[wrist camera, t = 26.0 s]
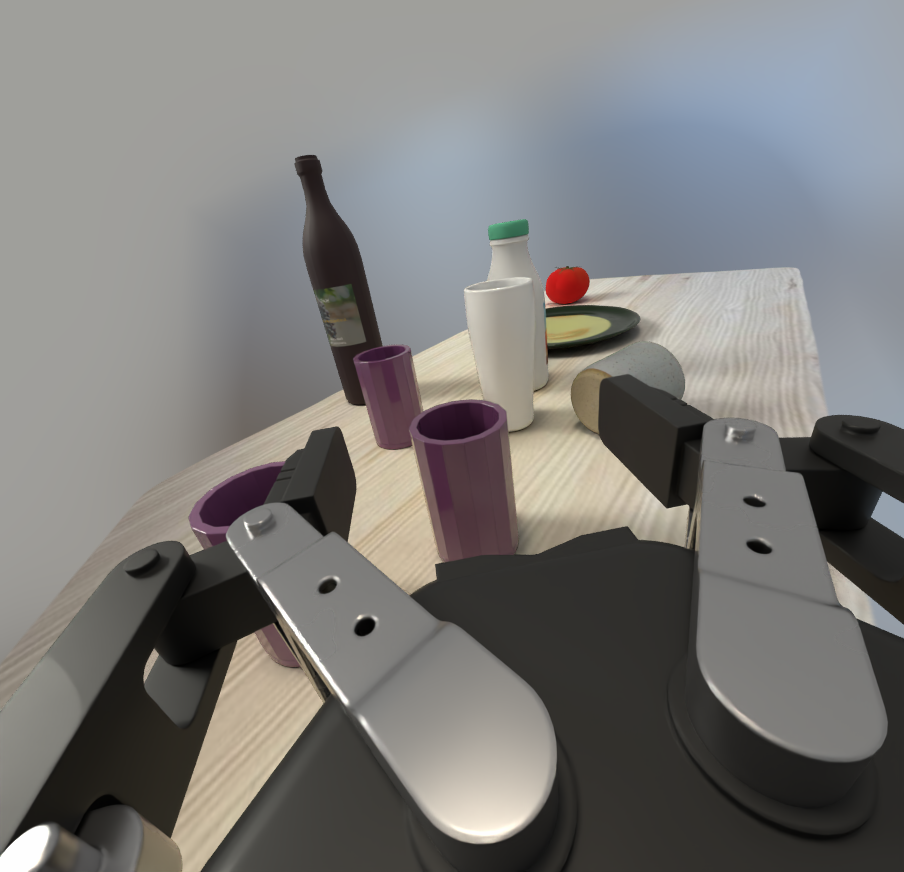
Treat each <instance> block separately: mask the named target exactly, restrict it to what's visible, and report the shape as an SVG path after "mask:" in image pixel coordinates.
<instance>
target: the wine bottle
mask: <svg viewBox="0 0 904 872" xmlns="http://www.w3.org/2000/svg"><path fill="white" fill-rule="evenodd" d="M295 161H296V163H295V168H296V171H297V174H298V175H299V177H300V179H301V182H302V186H303V189H304V193H305V200H306V205H307V208H306V219H305V225H304V231H303V253H304V259H305V263H306V267H307V271H308V274H309V277H310V281H311V284H312V287H313V290H314V294H315V297H316V300H317V303H318V307H319V310H320V313H321V317H322V320H323V323H324V327H325V330H326V333H327V337H328V340H329V343H330V346H331V350H332V353H333V356H334V360H335V363H336V366H337V369H338V373H339V376H340V379H341V383H342V386H343V389H344V393H345V396H346V399H347V400H348V402H349V403H351V404H357V405H363V404H366V403H365V400H364V396H363V392H362V389H361V385H360V382H359V378H358V374H357V371H356V367H355V364H354V360H353V358H354V357H355V356H356V355H358V354H360V353H362V352H364V351H367V350H370V349H373V348H377V347H381V346H382V341H381V337H380V333H379V329H378V325H377V321H376V317H375V312H374V308H373V304H372V300H371V296H370V291H369V287H368V284H367V279H366V275H365V271H364V267H363V262H362V258H361V255H360V252H359V248H358V245H357V243H356V241H355V239H354V236H353V234H352V233H351V231H350V230H349V228H348V227H347V225H346V224H345V222H344V221H343V220H342V219H341V217H340V216H339V215H338V213H337V212H336V210H335V209H334V207H333V206H332V204H331V203H330V201H329V198H328V195H327V193H326V190H325V186H324V183H323V179H322V175H321V174H322V168H321V164H320V161H319V160H318V159H317V157H316V156H315V155H305V156H300V157H297V158H295Z"/></svg>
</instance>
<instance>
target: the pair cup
mask: <svg viewBox="0 0 904 872" xmlns="http://www.w3.org/2000/svg"><path fill="white" fill-rule="evenodd" d="M284 463H285V461H282V462H273V463H268V464H265V465H261V466H257V467H253V468H250V469H248V470H246V471H243V472H241V473H239V474H236V475H234V476H232V477H230V478H228V479H226V480H225V481H223V482H222V483H220V484H218V485H217V486H215V487H213V488H212V489H211V490H209V491H208V492H207V493H206V494H205V495H204V496H203V497H202V498H201V499H200V500H198V501H197V502H196V504H195V505H194V507H193V509H192V511H191V513H190V515H189V518H188V519H189V522H190V525H191V529H192V530H193V532H194V534H195V535H196V537H197V538H198V540H199V542H200V543H201V545H202V547H203V548H204V550H205V549H207V548H210V547H212V546H215V545H217V544H220V543H222V542H225V541H227V539H226V533H227V530H228V529H229V527H230V526H231V524H232V523H233V522H234V521H235V520H236V519H238V518H239V517H240V516H242V515H243V514H244V513H246V512H248V511H250V510H252V509H254V508H256V507H259V506H262V505H263V504H264V502H265V500H266V498H267V496H268V495H269V493H270V491H271V489H272V487H273V485H274V483H275V482H276V479H277V477H278V475H279V473H281V469H282V467H283V465H284ZM254 633H255V634H256V636H257V638H258V639H259V641H260V643H261V644H262V646H263V648H264V649H265V651H266V652H267V653H268V654H269V656H270V657H271V658H272V659H273V660H274V661H275V662H276V663H278V664H281V665H283V666H287V667H301V666H300V665H299V663H298V662H297V660H296V659H295V657H294V655H293V654H292V652H291V651H290V649H289V648H288V646H287V645H286V643H285V642H284V640H283V639H282V637H281V635H280V634H279V632H278V631H277V629H276V628H275V626H274V624H271V625H269V626H267V627H264V628H262V629H260V630H258V631H256V632H254Z"/></svg>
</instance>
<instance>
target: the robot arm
mask: <svg viewBox="0 0 904 872" xmlns="http://www.w3.org/2000/svg"><path fill="white" fill-rule="evenodd" d="M598 430H599V435H600V438H601V440H602V442H603V444H604V445H605V446H606V447H607V448H608V449H609V450H610V451H611V452H612V453H613V454H614V455H615V456H616V457H617V458H618V459H619V460H620V461H621V462H622V463H623V464H624V465H625V466H626V467H627V468H628V469H629V470H630V471H631V472H632V473H633V474H634V476H635V477H636V478H637V479H638V480H639V481H640V482H641V483H642V484H643V485H644V486H645V487H646V488H647V489H648V490H649V491H650V492H651V493H652V494H653V495H654V496H655V497H656V498H657V499H658V500H659V501H660V502H661V503H662V504H663V505H664V506H665V507H666V508H671V507H676V506H681V505H686V504H688V505H689V511H688V517H687V526H686V536H685V546H684V547H681V546H677V545H673V544H669V543H664V542H658V541H647V540H638V539H637V538H636V536H635V535H634V534H633V533H632V531H631V530H630V529H629V527H628V526H626V527H621V528H616V529H611V530H606V531H601V532H596V533H591V534H586V535H581V536H579V537H576V538H574V539H572V540H569V541H567V542H565V543H563V544H560V545H558V546H556V547H553V548H551V549H549V550H546V551H544V552H542V553H539V554H535V555H480V556H475V557H470V558H465V559H460V560H455V561H450V562H444V563H439V564H435V567H436V576H437V580H435V581H433V582H431V583H429V584H427V585H425V586H423V587H421V588H420V589H418V590H417V591H415V592H414V593H412V594H411V595H410V596H409V595H408V594H407V593H406V592H404V591H403V590H402V589H401V588H400V587H399V586H397V585H396V584H395V583H394V582H393V581H392V580H391V579H389V578H388V577H387V576H386V575H385V574H384V573H382V572H381V571H380V570H379V569H378V568H377V567H375V566H374V565H373V564H372V563H371V562H370V561H369V560H367V559H366V558H365V557H364V556H363V555H362V554H360V553H359V552H358V551H357V550H356V549H355V548H353V547H352V546H351V545H350V544H349V543H348V536H349V530H350V525H351V519H352V513H353V507H354V501H355V495H356V478H355V473H354V469H353V466H352V463H351V460H350V456H349V453H348V450H347V447H346V444H345V441H344V437H343V434H342V432H341V430H340V428H339V427H332V428H326V429H321V430H315V431H312V433H311V435H310V437H309V439H308V442H307V444H306V446H305V448H304V449H300V450H297V451H296V452H295V453H294V454H292V455H291V456H290V457H289V458H288V459H287V460H286V461H285V463H284V465H283V467H282V469H281V473H279V475H278V477H277V479H276V482H275V483H274V485H273V487H272V489H271V491H270V493H269V495H268V496H267V498H266V500H265V502H264V504H263V505H262V506H259V507H256V508H254V509H252V510H250V511H248V512H246V513H244V514H243V515H242V516H240V517H239V518H238V519H236V520H235V521H234V522H233V523H232V524H231V526H230V527H229V529H228V530H227V533H226V539H227V541H225V542H222V543H220V544H217V545H215V546H212V547H210V548H207V549H205V550H202V551H199V552H197V553H194V554H192V555H189V554H188V552H187V551H186V549H185V548H184V546H183V545H182V544H181V543H180V542H177V541H165V542H160V543H157V544H153V545H151V546H148V547H146V548H144V549H141V550H139V551H138V552H136V553H134V554H132V555H131V556H129V557H128V558H126V559H125V560H123V561H122V562H121V563H119V564H118V565H117V566H116V567H115V568H114V569H113V570H112V571H111V572H110V573H109V574H108V575H107V577H106V578H105V579H104V580H103V582H102V583H101V584H100V585H99V587H98V588H97V589H96V591H95V592H94V593H93V594H92V596H91V597H90V598H89V599H88V601H87V602H86V603H85V604H84V606H83V607H82V608H81V609H80V611H79V612H78V613H77V615H76V616H75V617H74V618H73V620H72V621H71V622H70V623H69V625H68V626H67V627H66V628H65V630H64V631H63V632H62V633H61V635H60V636H59V637H58V639H57V640H56V641H55V642H54V644H53V645H52V646H51V647H50V649H49V650H48V651H47V652H46V654H45V655H44V656H43V657H42V659H41V660H40V661H39V663H38V664H37V665H36V666H35V668H34V669H33V670H32V671H31V673H30V674H29V675H28V676H27V678H26V679H25V680H24V681H23V683H22V684H21V685H20V687H19V688H18V689H17V690H16V692H15V693H14V694H13V695H12V697H11V698H10V699H9V700H8V702H7V703H6V704H5V705H4V707H3V708H2V709H1V710H0V872H182V856H181V853H180V850H179V848H178V846H177V844H176V843H175V842H174V841H173V840H171V836H172V833H173V830H174V827H175V824H176V821H177V818H178V815H179V812H180V809H181V806H182V803H183V800H184V797H185V794H186V791H187V788H188V785H189V783H190V780H191V777H192V774H193V771H194V768H195V765H196V762H197V759H198V756H199V753H200V750H201V747H202V744H203V741H204V738H205V735H206V732H207V729H208V726H209V723H210V720H211V717H212V715H213V712H214V709H215V706H216V703H217V700H218V697H219V694H220V691H221V688H222V685H223V682H224V679H225V676H226V673H227V670H228V667H229V664H230V661H231V658H232V655H233V652H234V650H235V647H236V644H237V640H239V639H241V638H243V637H245V636H247V635H250V634H252V633H254V632H256V631H258V630H260V629H262V628H264V627H267V626H269V625H271V624H274V626H275V628H276V629H277V631H278V632H279V634H280V635H281V637H282V639H283V640H284V642H285V643H286V645H287V646H288V648H289V649H290V651H291V652H292V654H293V655H294V657H295V659H296V660H297V662H298V663H299V665H300V666H301V668H302V669H303V671H304V672H305V674H306V675H307V677H308V679H309V680H310V682H311V683H312V685H313V687H314V688H315V690H316V692H317V694H318V695H319V697H320V699H321V700H322V702H323V705H322V707H321V708H320V709H319V711H318V712H317V713H316V715H315V716H314V717H313V719H312V720H311V722H310V723H309V724H308V726H307V727H306V728H305V730H304V731H303V732H302V734H301V735H300V736H299V738H298V739H297V741H296V742H295V743H294V745H293V746H292V747H291V749H290V750H289V751H288V753H287V754H286V755H285V757H284V758H283V760H282V761H281V762H280V764H279V765H278V766H277V768H276V769H275V770H274V772H273V773H272V774H271V776H270V777H269V779H268V780H267V781H266V783H265V784H264V785H263V787H262V788H261V789H260V791H259V792H258V793H257V795H256V796H255V798H254V799H253V800H252V802H251V803H250V804H249V806H248V807H247V808H246V810H245V811H244V812H243V814H242V815H241V817H240V818H239V819H238V821H237V822H236V823H235V825H234V826H233V827H232V829H231V830H230V832H229V833H228V834H227V836H226V837H225V838H224V840H223V841H222V842H221V844H220V845H219V846H218V848H217V849H216V851H215V852H214V853H213V855H212V856H211V857H210V859H209V860H208V861H207V863H206V864H205V866H204V867H203V869H202V870H201V872H904V638H901V637H899V636H897V635H894V634H892V633H889V632H887V631H885V630H882V629H880V628H878V627H875V626H873V625H870V624H868V623H866V622H863V621H861V620H859V619H856V618H855V616H854V614H853V613H852V612H851V611H850V610H849V609H848V608H845V607H843V606H842V605H841V604H840V603H839V601H838V599H837V596H836V593H835V589H834V585H833V582H832V578H831V575H830V571H829V568H828V564H827V562H828V563H830V564H831V565H832V566H833V567H834V568H836V569H837V570H838V571H839V572H840V573H842V574H843V575H844V576H845V577H847V578H848V579H849V580H850V581H851V582H853V583H854V584H855V585H856V586H857V587H859V588H860V589H861V590H862V591H864V592H865V593H866V594H867V595H868V596H870V597H871V598H872V599H873V600H874V601H876V602H877V603H878V604H879V605H881V606H882V607H883V608H884V609H885V610H887V611H888V612H889V613H890V614H892V615H893V616H894V617H895V618H896V619H898V620H899V621H900V622H901V623H902V624H904V538H902V537H901V536H899V535H897V534H896V533H894V532H893V531H891V530H890V529H888V528H887V527H885V526H883V525H882V524H880V523H879V522H877V521H876V520H874V519H873V518H871V515H872V513H873V511H874V509H875V506H876V504H877V502H878V500H879V498H880V496H881V494H882V491H883V492H885V493H886V494H888V495H890V496H892V497H894V498H895V499H897V500H899V501H901V502H902V503H904V429H901V428H899V427H897V426H894V425H892V424H889V423H886V422H883V421H880V420H876V419H872V418H867V417H861V416H852V415H832V416H826V417H823V418H820V419H818V420H817V421H816V424H815V427H814V430H813V433H812V436H811V437H796V438H779V437H778V434H777V432H776V431H775V430H774V429H772V428H771V427H769V426H767V425H765V424H763V423H760V422H757V421H753V420H748V419H742V418H720V419H715V420H714V419H713V418H711V417H709V416H708V415H706V414H704V413H702V412H701V411H699V410H697V409H696V408H694V407H692V406H690V405H687V403H685V402H684V401H682V400H680V399H677V397H675V396H673V395H672V394H670V393H668V392H666V391H664V390H661V389H657V388H654V387H650V386H648V385H647V384H645V383H643V382H642V381H640V380H638V379H637V378H635V377H633V376H632V375H630V374H625V375H619V376H614V377H608V378H604V379H602V381H601V383H600V388H599V414H598ZM154 648H155V650H156V651H157V652H158V653H159V656H158V658H157V660H156V662H155V664H154V666H153V668H152V669H151V671H150V673H149V675H148V677H147V679H146V681H145V683H144V681H143V675H144V669H145V665H146V663H147V660H148V658H149V656H150V655H151V653H152V651H153V649H154Z"/></svg>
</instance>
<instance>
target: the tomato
mask: <svg viewBox="0 0 904 872" xmlns="http://www.w3.org/2000/svg"><path fill="white" fill-rule="evenodd" d="M589 282H590V280H589V277H588V274H587V273H586V271H585V270H584V269H582V268H579V267H571V268H569V267H568V266H567V267H566V268H559V269H557V270H556V271H555V272H553V273H551V275H550V276H549V277H548V279H547V283H546V294H547V296H548V298H549V299H550V300H551V301H553V302H555V303H558V304H568V303H572V302H575V301H577V300H579V299H580V298H582V297H583V296H584V295H585V293H586V292H587V290H588V287H589Z"/></svg>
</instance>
